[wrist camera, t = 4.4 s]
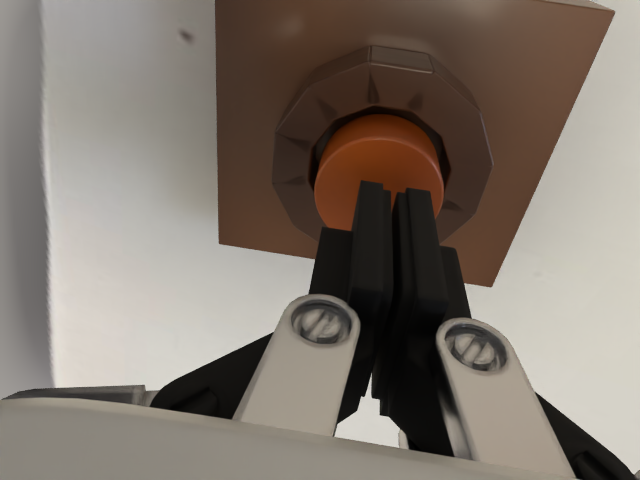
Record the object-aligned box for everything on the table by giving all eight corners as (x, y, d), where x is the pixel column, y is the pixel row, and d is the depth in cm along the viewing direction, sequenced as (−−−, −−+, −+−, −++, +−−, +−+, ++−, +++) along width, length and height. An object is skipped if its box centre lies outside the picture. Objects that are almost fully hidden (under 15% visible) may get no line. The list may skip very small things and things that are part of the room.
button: (314, 209, 15) (307, 239, 14) (328, 104, 13) (321, 126, 12) (421, 226, 15) (425, 258, 14) (452, 122, 13) (461, 147, 12)
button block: (232, 215, 20) (204, 272, 17) (234, -54, 14) (191, -44, 11) (482, 254, 20) (501, 320, 17) (586, -2, 14) (648, 24, 11)
